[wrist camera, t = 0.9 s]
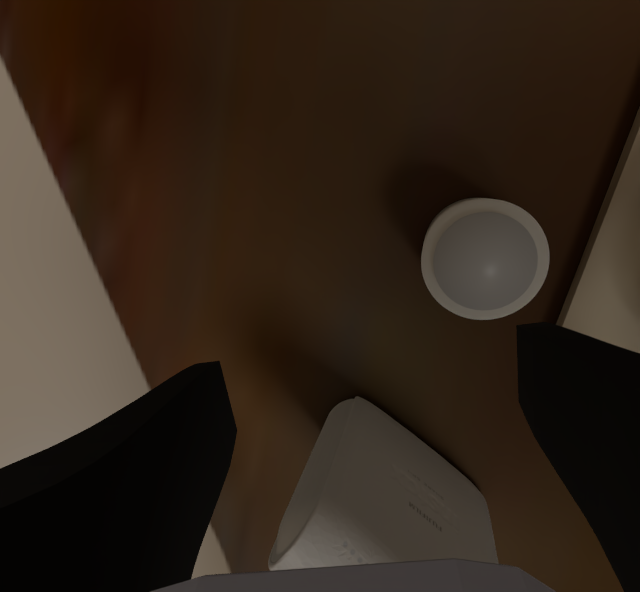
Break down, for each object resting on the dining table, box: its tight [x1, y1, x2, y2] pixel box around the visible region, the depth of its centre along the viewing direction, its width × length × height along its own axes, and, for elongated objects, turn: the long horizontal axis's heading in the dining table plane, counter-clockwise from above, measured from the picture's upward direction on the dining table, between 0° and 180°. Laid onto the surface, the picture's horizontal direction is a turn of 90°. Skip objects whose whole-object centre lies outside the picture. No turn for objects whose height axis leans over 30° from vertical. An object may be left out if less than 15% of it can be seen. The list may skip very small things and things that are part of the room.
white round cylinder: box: [421, 197, 549, 320], centre depth 21 cm, size 5×5×5 cm
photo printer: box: [268, 396, 498, 571], centre depth 22 cm, size 10×4×12 cm, turn 54°
